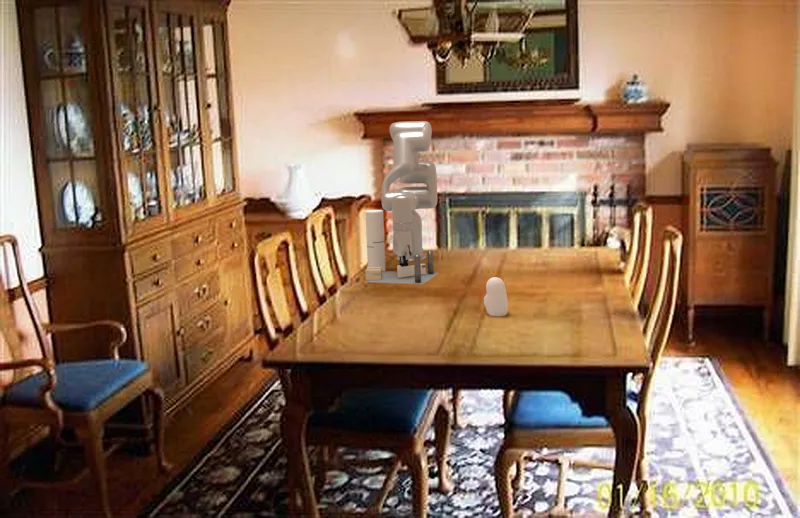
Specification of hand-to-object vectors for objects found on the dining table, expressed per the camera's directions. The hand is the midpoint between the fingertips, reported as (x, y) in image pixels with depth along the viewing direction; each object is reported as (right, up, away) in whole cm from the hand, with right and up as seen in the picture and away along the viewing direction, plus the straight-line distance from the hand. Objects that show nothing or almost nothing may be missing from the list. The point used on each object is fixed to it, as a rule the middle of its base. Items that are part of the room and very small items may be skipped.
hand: (404, 272), depth 361 cm
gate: (+3, -1, -1) cm, 4 cm away
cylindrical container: (-11, 0, +13) cm, 17 cm away
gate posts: (+8, -2, -5) cm, 9 cm away
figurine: (+30, -13, -61) cm, 70 cm away
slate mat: (0, -2, -2) cm, 3 cm away
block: (-12, -2, -3) cm, 12 cm away
